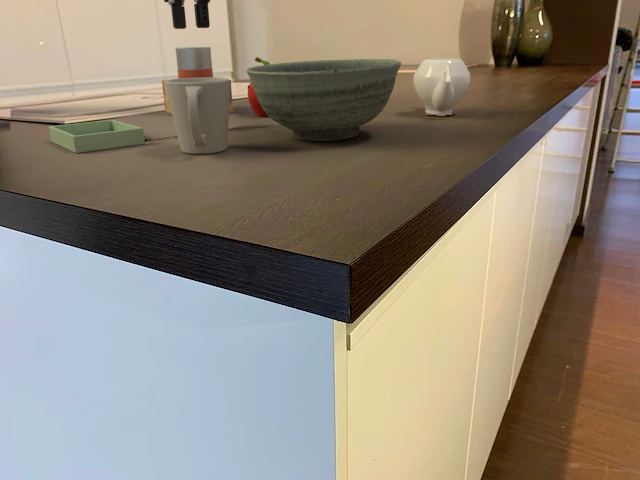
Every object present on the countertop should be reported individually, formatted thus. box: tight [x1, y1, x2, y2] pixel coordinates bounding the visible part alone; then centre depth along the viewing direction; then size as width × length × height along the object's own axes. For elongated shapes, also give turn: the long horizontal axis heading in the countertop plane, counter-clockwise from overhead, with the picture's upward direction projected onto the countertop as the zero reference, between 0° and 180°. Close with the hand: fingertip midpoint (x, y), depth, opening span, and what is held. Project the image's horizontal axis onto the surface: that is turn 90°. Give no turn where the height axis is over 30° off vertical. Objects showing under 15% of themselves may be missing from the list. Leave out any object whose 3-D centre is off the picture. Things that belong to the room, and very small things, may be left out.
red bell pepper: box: [247, 56, 270, 118], centre depth 91 cm, size 8×7×10 cm
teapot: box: [412, 56, 472, 114], centre depth 92 cm, size 10×20×9 cm, turn 174°
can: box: [175, 46, 214, 79], centre depth 96 cm, size 6×6×11 cm
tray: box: [48, 119, 146, 154], centre depth 73 cm, size 11×9×2 cm
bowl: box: [245, 58, 402, 142], centre depth 74 cm, size 21×21×10 cm
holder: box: [161, 79, 234, 114], centre depth 97 cm, size 9×9×6 cm
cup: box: [166, 77, 231, 155], centre depth 65 cm, size 8×10×8 cm
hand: (191, 28), depth 93 cm, fingers open, 8 cm apart
